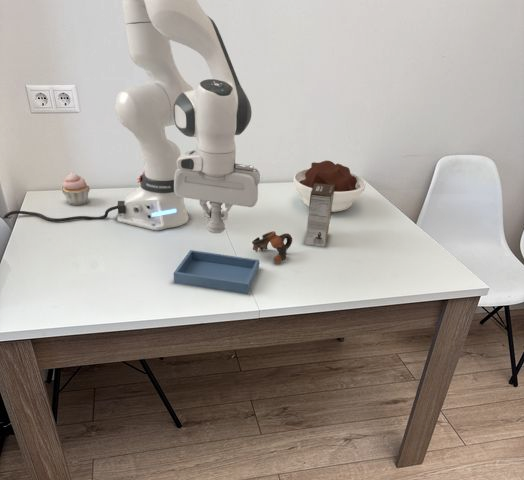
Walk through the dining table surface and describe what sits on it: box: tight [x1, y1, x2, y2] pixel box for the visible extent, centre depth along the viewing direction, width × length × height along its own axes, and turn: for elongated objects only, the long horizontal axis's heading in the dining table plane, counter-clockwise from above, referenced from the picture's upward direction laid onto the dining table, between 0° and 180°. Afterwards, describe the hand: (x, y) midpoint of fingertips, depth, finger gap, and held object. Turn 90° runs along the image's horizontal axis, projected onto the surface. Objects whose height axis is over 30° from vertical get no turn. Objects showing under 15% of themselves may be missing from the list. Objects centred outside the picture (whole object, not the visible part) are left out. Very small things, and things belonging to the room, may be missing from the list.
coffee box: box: [304, 183, 335, 248], centre depth 147 cm, size 9×6×16 cm
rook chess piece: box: [206, 201, 226, 234], centre depth 120 cm, size 4×4×8 cm
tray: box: [173, 249, 260, 295], centre depth 129 cm, size 20×14×3 cm
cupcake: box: [60, 171, 91, 206], centre depth 162 cm, size 9×9×10 cm
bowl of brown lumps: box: [292, 160, 366, 213], centre depth 170 cm, size 25×25×15 cm
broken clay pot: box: [251, 231, 293, 265], centre depth 140 cm, size 12×10×8 cm
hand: (216, 218), depth 121 cm, fingers closed on rook chess piece, 3 cm apart
